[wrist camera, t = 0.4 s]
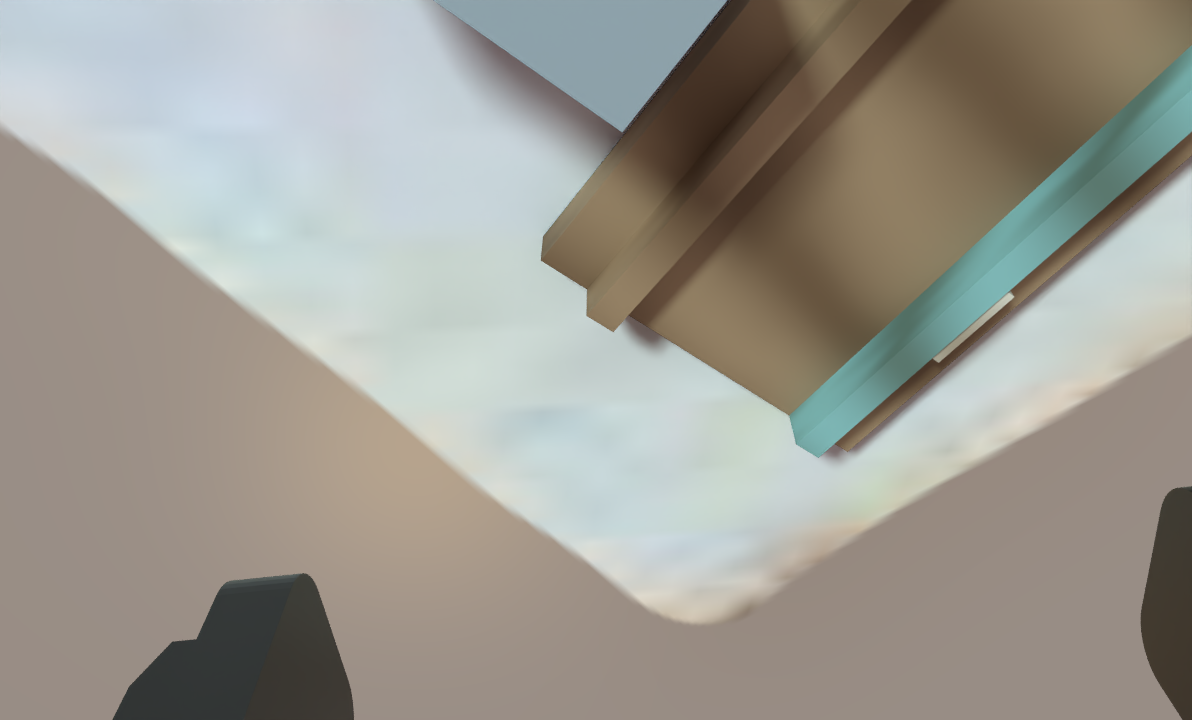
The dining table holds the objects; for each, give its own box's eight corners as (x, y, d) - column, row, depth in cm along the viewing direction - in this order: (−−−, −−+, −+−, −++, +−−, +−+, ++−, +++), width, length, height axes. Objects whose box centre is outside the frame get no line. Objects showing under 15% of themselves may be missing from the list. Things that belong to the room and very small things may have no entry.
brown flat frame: (1247, -648, 20) (1334, -685, 18) (1558, -212, 25) (1662, -194, 22) (543, 236, 32) (538, 286, 30) (839, 424, 37) (856, 481, 34)
